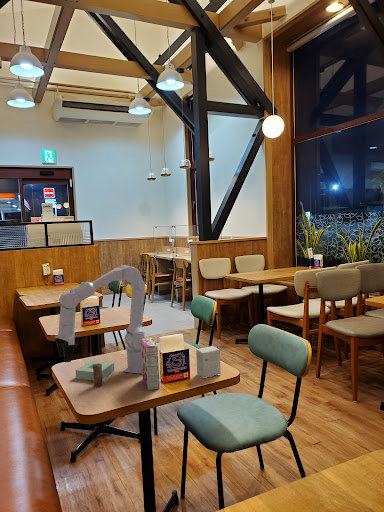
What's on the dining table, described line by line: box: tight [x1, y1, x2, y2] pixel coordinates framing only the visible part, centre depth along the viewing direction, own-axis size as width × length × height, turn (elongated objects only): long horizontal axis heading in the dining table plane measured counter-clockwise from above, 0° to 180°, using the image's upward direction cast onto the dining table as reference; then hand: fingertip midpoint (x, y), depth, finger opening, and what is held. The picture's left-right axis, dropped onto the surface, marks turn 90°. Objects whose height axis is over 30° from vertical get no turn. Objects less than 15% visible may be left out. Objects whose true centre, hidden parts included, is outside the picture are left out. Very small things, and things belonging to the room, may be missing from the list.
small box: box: [195, 345, 221, 379], centre depth 150 cm, size 8×6×10 cm
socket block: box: [75, 360, 115, 382], centre depth 155 cm, size 11×11×4 cm
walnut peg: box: [93, 364, 104, 388], centre depth 144 cm, size 3×3×8 cm
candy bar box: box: [140, 337, 160, 391], centre depth 143 cm, size 11×5×16 cm, turn 17°
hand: (64, 359), depth 144 cm, fingers open, 7 cm apart
